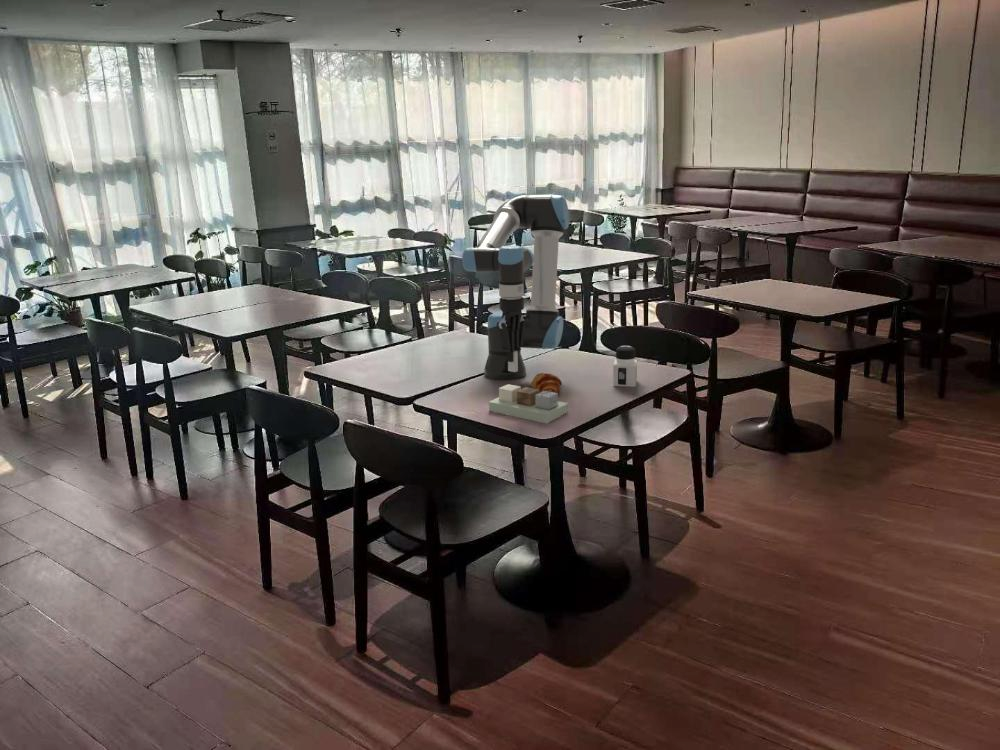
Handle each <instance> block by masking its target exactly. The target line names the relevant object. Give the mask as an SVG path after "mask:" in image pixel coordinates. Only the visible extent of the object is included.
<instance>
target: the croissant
mask: <svg viewBox="0 0 1000 750" xmlns="http://www.w3.org/2000/svg"><path fill="white" fill-rule="evenodd" d="M561 386H562V380H561V379H560V377H558V376H557V375H554V374H551V373H544V372H540V373H537V374H536V375H535V376H534V378H533V379H532V381H531V387H530V388H533V389H538V390H539V393H541V392H543V391H548V392H553V393H558V394H559V392H560V389H561Z"/></svg>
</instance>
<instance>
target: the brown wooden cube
mask: <svg viewBox="0 0 1000 750" xmlns="http://www.w3.org/2000/svg"><path fill="white" fill-rule="evenodd" d="M536 394H539V390H538V389H533V388H531V387H527V386H525V387H523V388H521V390H518V391H517V404H521V405H525V406H530V407H531V406H533V405H535V404H536V403H535V395H536Z"/></svg>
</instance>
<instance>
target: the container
mask: <svg viewBox="0 0 1000 750" xmlns="http://www.w3.org/2000/svg"><path fill="white" fill-rule="evenodd" d="M612 367H613V368H612V369H613V370H612V371H613V373H612V376H613V377H612V378H613V380H612V386H613V387H630V388H636V386H637V379H638V375H637V373H638V360H637V359H636V348H635V347H633V346H630V345H621V346H618V347H617V348H615V359H614V361H613V366H612Z"/></svg>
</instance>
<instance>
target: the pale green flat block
mask: <svg viewBox="0 0 1000 750" xmlns="http://www.w3.org/2000/svg"><path fill="white" fill-rule="evenodd" d="M488 411H489V412H492V413H493V412H494V413H498V414H502V415H507V416H511V417H515V418H521V419H525V420H529V421H534V422H538V423H542V424H549V423H551V422H553V421H555V420H556V418H557V419H558V418H561V417H562V416H564V415H566V414H567V412H568V413H569V403H568V402H562V401H559V400H558V406H557V407H555V408H553V409H552V410H550V411H549V410H544V409H540V408H536V404H535V405H533V406H531V407H530V406H525V405H521V404H517V401H515V402H513V403H511V402H506V401H502V400H499V396H498V397H496V398H494V399H491V400H490V401H488ZM565 413H566V414H565ZM563 414H564V415H563ZM561 415H562V416H561ZM554 419H555V420H554ZM552 420H553V421H552ZM550 421H551V422H550Z"/></svg>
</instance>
